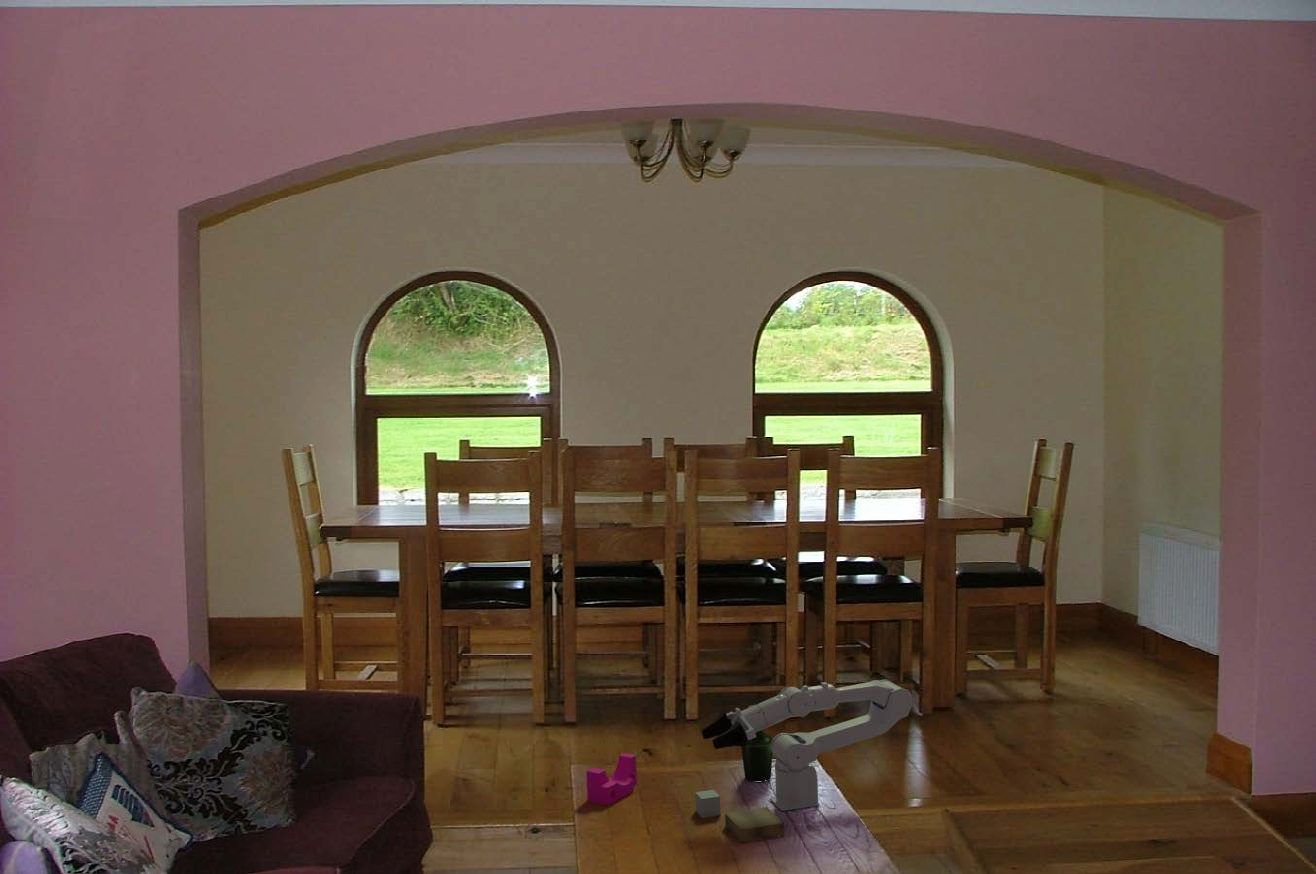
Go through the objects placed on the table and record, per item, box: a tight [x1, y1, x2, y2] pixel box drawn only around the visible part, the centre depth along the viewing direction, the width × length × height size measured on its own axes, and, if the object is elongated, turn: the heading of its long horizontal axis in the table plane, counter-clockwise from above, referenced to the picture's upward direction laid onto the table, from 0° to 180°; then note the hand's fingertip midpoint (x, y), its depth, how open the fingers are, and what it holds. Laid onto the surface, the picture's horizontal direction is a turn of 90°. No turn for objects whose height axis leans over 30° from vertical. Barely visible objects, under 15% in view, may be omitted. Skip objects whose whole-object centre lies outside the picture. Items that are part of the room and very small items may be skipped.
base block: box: [724, 806, 785, 844], centre depth 268 cm, size 10×10×3 cm
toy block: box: [585, 752, 638, 806], centre depth 294 cm, size 15×6×8 cm, turn 145°
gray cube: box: [694, 789, 722, 819], centre depth 280 cm, size 4×4×4 cm
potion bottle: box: [740, 704, 774, 782], centre depth 301 cm, size 8×8×18 cm
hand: (708, 739), depth 277 cm, fingers open, 7 cm apart
